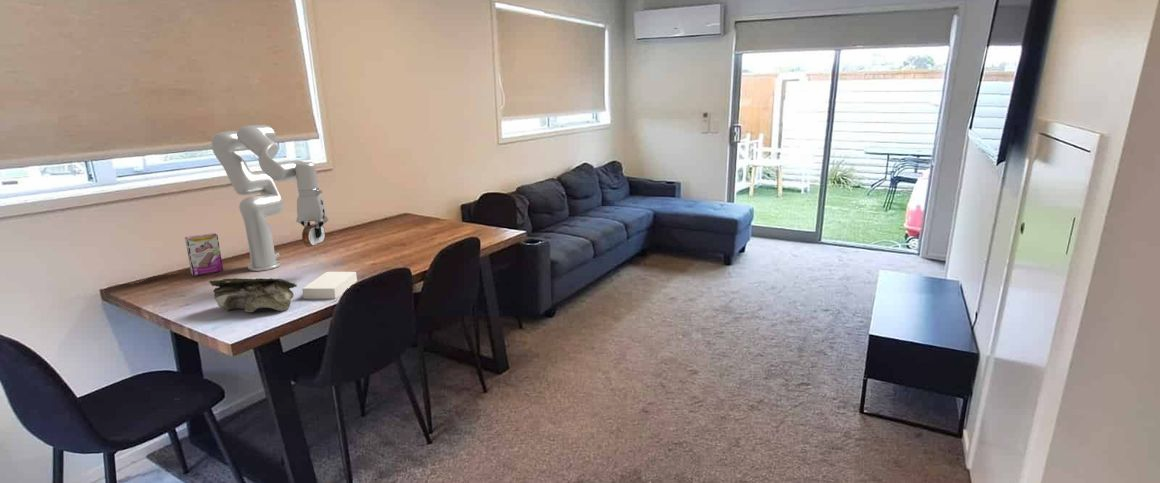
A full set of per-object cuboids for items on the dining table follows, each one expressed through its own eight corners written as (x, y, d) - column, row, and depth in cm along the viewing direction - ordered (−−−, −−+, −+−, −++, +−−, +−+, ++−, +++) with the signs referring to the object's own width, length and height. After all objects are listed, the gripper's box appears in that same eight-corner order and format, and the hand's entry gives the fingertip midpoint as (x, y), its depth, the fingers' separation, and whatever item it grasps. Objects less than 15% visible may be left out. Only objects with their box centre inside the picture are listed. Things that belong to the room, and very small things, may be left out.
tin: (321, 241, 234) (317, 221, 233) (328, 240, 234) (324, 221, 233) (303, 248, 220) (299, 228, 218) (311, 248, 220) (307, 227, 218)
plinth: (327, 281, 225) (326, 271, 224) (357, 281, 225) (356, 271, 224) (303, 298, 206) (302, 288, 205) (335, 298, 206) (334, 288, 204)
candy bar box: (193, 276, 231) (186, 239, 227) (191, 274, 234) (183, 236, 230) (224, 271, 238) (217, 234, 234) (221, 268, 242) (214, 232, 238)
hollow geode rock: (217, 322, 196) (190, 304, 183) (227, 290, 203) (203, 270, 190) (295, 319, 196) (274, 301, 183) (303, 287, 203) (284, 268, 190)
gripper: (332, 191, 225) (338, 234, 230) (293, 191, 225) (299, 235, 230) (324, 194, 218) (330, 239, 223) (283, 194, 218) (290, 239, 223)
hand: (314, 236), depth 226 cm, fingers closed on tin, 2 cm apart
